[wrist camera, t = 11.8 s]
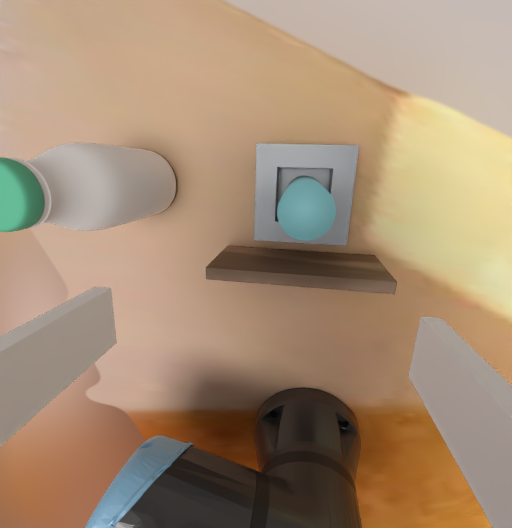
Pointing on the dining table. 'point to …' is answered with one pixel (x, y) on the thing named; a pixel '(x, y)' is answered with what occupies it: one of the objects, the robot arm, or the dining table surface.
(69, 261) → the dining table surface
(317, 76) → the dining table surface
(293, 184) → the peg
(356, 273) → the wooden cutting board
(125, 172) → the milk bottle
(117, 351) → the dining table surface
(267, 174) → the socket block
